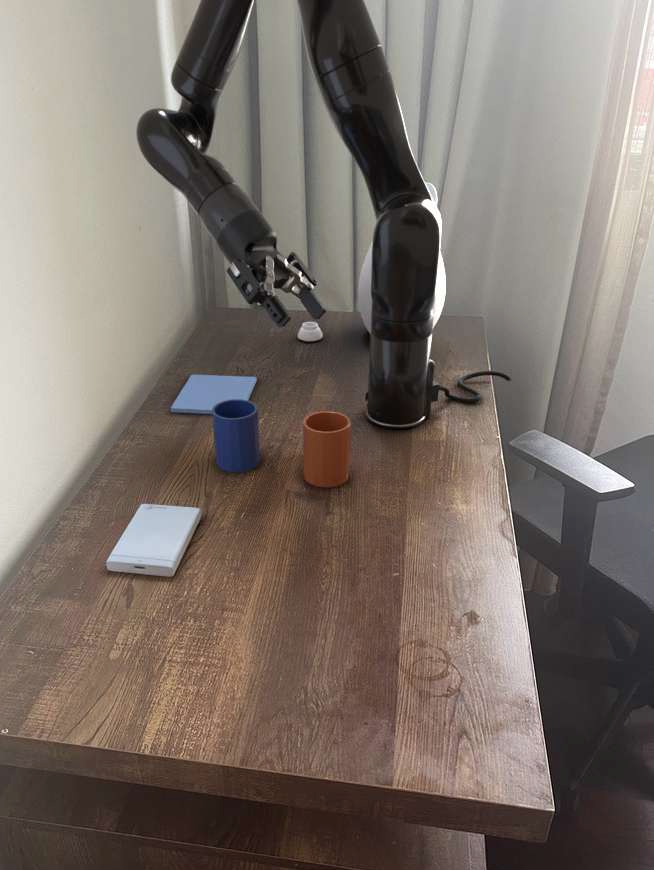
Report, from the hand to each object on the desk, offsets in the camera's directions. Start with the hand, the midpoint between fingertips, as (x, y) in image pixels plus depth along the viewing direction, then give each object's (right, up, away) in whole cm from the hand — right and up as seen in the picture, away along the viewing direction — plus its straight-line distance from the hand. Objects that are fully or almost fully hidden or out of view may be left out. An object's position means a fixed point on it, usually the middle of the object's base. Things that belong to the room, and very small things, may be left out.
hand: (304, 319), depth 101 cm
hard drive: (-19, -30, -9) cm, 37 cm away
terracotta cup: (+3, -21, +3) cm, 22 cm away
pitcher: (+20, +7, +46) cm, 51 cm away
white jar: (+3, +8, +49) cm, 49 cm away
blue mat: (-14, -7, +27) cm, 31 cm away
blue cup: (-9, -19, +7) cm, 23 cm away
